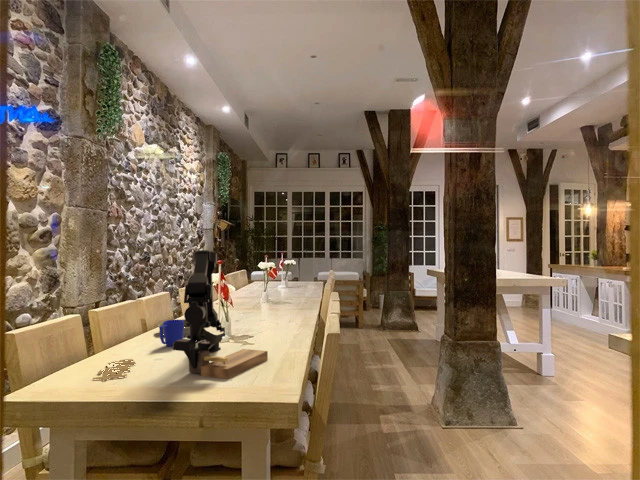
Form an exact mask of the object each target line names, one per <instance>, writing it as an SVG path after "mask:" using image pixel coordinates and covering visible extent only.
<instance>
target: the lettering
mask: <svg viewBox="0 0 640 480" xmlns="http://www.w3.org/2000/svg"><path fill="white" fill-rule="evenodd" d="M125 360H128V361H125ZM131 361H133V362H131ZM110 362H111V363H115V362H123V363H115V364H119V365H117V366H116V367H117V369H114V368H116V367H111V368H106V367H105V368H104V369H105V371H104V370H103V371H104V372H103V371H101V370H102V369H100V370H99V371H97V375H98V374H102V375H101V376H98V377H92V380H93V379H103V380H107V379H109V378H119V377H125V376H128V375H127V374H126V373H124V374H123V375H122V373H123V372H124V371H130V370H131V368H130V366H129V365H134V364H136V361H134V359H131V358H129V359H128V358H126V359H120V360H118V361H117V360H115V362H114V361H110ZM110 362H108V363H107V364H109V365H110V364H111V363H110ZM120 364H121V365H125V366H121V365H120ZM136 365H137V364H136ZM134 366H135V365H134ZM128 367H129V368H128ZM112 368H113V369H112ZM118 368H119V369H118ZM109 369H110V370H109ZM128 369H130V370H128ZM108 370H109V371H108ZM112 370H114V371H115V370H120V371H117V372H118V373H117V372H112ZM102 372H103V373H102ZM116 373H117V374H116ZM108 374H110V376H107V375H108ZM103 380H102V381H103ZM109 380H110V379H109Z"/></svg>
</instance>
